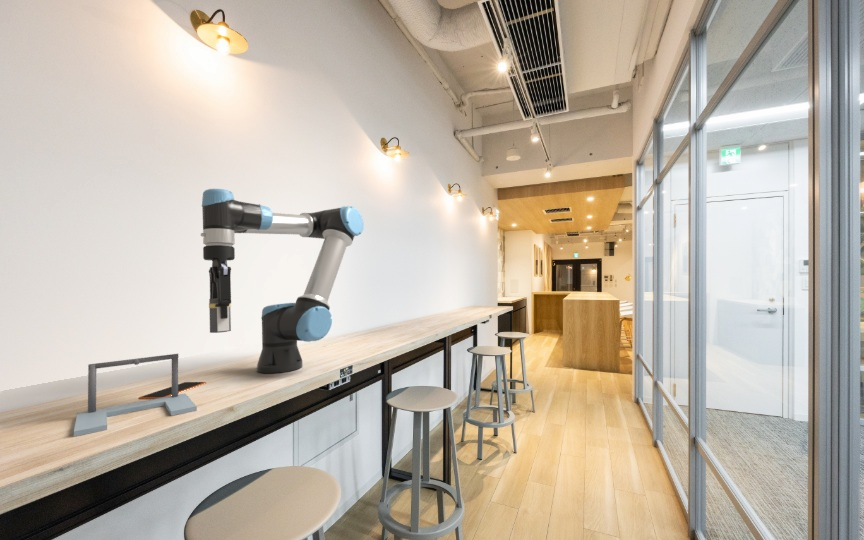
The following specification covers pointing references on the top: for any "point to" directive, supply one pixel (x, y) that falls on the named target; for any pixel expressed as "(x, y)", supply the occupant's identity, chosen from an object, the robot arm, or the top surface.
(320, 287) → the robot arm
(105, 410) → the arch on base
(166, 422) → the top surface
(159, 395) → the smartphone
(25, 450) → the top surface
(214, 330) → the yellow-banded grey cylinder
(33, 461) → the top surface
